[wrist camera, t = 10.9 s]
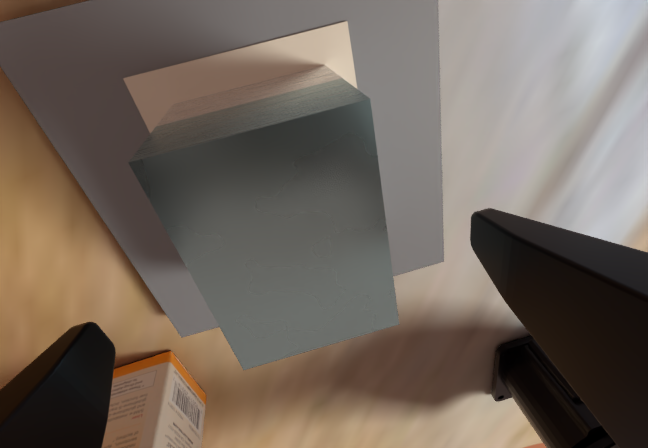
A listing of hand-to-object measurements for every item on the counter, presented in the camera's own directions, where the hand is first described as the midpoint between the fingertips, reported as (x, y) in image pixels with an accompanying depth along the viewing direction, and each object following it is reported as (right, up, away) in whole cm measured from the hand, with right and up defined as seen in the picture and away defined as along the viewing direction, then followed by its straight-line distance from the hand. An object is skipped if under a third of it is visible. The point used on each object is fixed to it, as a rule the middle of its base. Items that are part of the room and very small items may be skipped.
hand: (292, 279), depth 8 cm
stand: (-1, +4, +6) cm, 7 cm away
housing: (-1, +3, +5) cm, 6 cm away
